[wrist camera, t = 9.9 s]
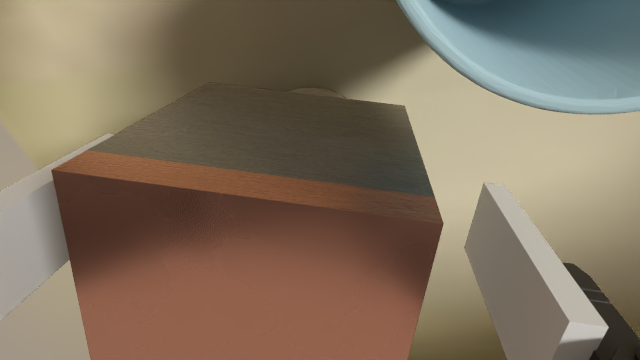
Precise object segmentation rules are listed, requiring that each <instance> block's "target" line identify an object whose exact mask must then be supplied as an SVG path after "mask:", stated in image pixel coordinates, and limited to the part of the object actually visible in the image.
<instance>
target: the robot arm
mask: <svg viewBox="0 0 640 360" xmlns="http://www.w3.org/2000/svg"><path fill="white" fill-rule="evenodd" d="M113 135H114V134H105V135H103V136H102V137H100V138H98V139H96V140H94V141H92V142H90V143H88V144H87V145H85V146H83V147H81V148H79V149H77V150H75V151H73V152H72V153H70V154H68V155H66V156H64V157H62V158H60V159H59V160H57V161H55V162H53V163H51V164H49V165H47V166H45V167H44V168H42V169H40V170H38V171H36V172H34V173H32V174H31V175H29V176H27V177H25V178H23V179H21V180H19V181H17V182H16V183H14V184H12V185H10V186H8V187H6V188H4V189H3V190H0V321H1V320H2V319H3V318H4V317H5V316H6V315H8V314H9V313H10V312H11V311H12V310H13V309H14V308H15V307H17V306H18V305H19V304H20V303H21V302H22V301H23V300H24V299H25V298H27V297H28V296H29V295H30V294H31V293H32V292H33V291H35V290H36V289H37V288H38V287H39V286H40V285H41V284H42V283H44V282H45V281H46V280H47V279H48V278H49V277H50V276H51V275H53V274H54V273H55V272H56V271H57V270H58V269H59V268H60V267H62V266H63V265H64V264H65V263H66V262H67V261H68V260H69V259H70V258H69V253H68V248H67V243H66V239H65V234H64V229H63V224H62V219H61V215H60V210H59V205H58V200H57V195H56V191H55V186H54V181H53V176H52V172H51V170H52V169H54V168H56V167H57V166H59V165H61V164H63V163H65V162H66V161H68V160H70V159H72V158H74V157H75V156H77V155H79V154H81V153H83V152H84V151H86V150H88V149H90V148H92V147H93V146H95V145H97V144H99V143H101V142H102V141H104V140H106V139H108V138H110V137H111V136H113ZM464 248H465V251H466V253H467V256H468V258H469V261H470V264H471V266H472V269H473V272H474V274H475V277H476V279H477V282H478V285H479V287H480V290H481V293H482V295H483V298H484V300H485V303H486V306H487V308H488V311H489V313H490V316H491V319H492V321H493V324H494V327H495V329H496V332H497V334H498V337H499V340H500V342H501V345H502V347H503V350H504V353H505V355H506V358H507V360H640V339H639V338H638V337H637V335H636V334H635V333H634V332H633V330H632V329H631V328H630V327H629V325H628V324H627V323H626V321H625V320H624V319H623V318H622V316H621V315H620V314H619V313H618V311H617V310H616V309H615V308H614V306H613V305H612V304H610V301H609V300H608V299H607V297H606V296H605V295H604V294H603V293H601V290H600V288H599V287H598V286H597V285H596V283H595V282H594V281H593V280H592V278H591V277H590V276H589V275H587V274H586V273H585V272H583V271H582V270H581V269H579V268H578V267H577V266H575V265H574V264H570V263H563V262H561V261H560V259H559V258H558V257H557V255H556V254H555V252H554V251H553V250H552V248H551V247H550V246H549V244H548V243H547V241H546V240H545V239H544V237H543V236H542V234H541V233H540V232H539V230H538V229H537V228H536V226H535V225H534V223H533V222H532V221H531V219H530V218H529V217H528V215H527V214H526V212H525V211H524V210H523V208H522V207H521V205H520V204H519V203H518V201H517V200H516V199H515V197H514V196H513V194H512V193H511V192H510V190H509V189H508V188H507V186H506V185H499V184H491V183H484V184H483V187H482V190H481V194H480V197H479V200H478V204H477V207H476V210H475V214H474V217H473V220H472V224H471V227H470V230H469V234H468V237H467V240H466V244H465V247H464Z"/></svg>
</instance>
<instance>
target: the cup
mask: <svg viewBox="0 0 640 360" xmlns="http://www.w3.org/2000/svg"><path fill="white" fill-rule="evenodd" d="M396 2H397V4H398V5H399V7H400V9H401V10H402V12H403V13H404V15H405V16H406V18H407V19H408V21H409V22H410V23H411V25H412V26H413V27H414V29H415V30H416V31H417V33H418V34H419V35H420V37H421V38H422V39H423V40H424V41H425V42H426V43H427V44H428V45H429V46H430V47H431V49H432V50H433V51H434V52H436V53H437V54H438V55H439V56H440V57H441V58H442V59H443V60H444V61H445V62H446V63H447V64H449V65H450V66H451V67H452V68H453V69H455V70H456V71H457V72H459V73H460V74H462V75H463V76H465V77H466V78H468V79H469V80H471V81H472V82H474V83H475V84H477V85H479V86H480V87H482V88H484V89H486V90H488V91H490V92H492V93H495V94H497V95H499V96H501V97H504V98H507V99H509V100H512V101H515V102H518V103H521V104H524V105H528V106H531V107H535V108H539V109H544V110H549V111H555V112H564V113H572V114H616V113H626V112H635V111H640V0H396Z"/></svg>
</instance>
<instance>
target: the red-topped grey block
mask: <svg viewBox="0 0 640 360" xmlns="http://www.w3.org/2000/svg"><path fill="white" fill-rule="evenodd" d="M51 172H52V176H53V181H54V186H55V191H56V195H57V200H58V205H59V210H60V215H61V219H62V224H63V229H64V234H65V239H66V243H67V248H68V253H69V258H70V262H71V267H72V272H73V277H74V282H75V286H76V291H77V295H78V301H79V305H80V310H81V315H82V320H83V325H84V329H85V334H86V339H87V344H88V348H89V353H90V358H91V360H407V359H408V355H409V352H410V348H411V344H412V340H413V337H414V333H415V329H416V325H417V322H418V318H419V314H420V310H421V306H422V303H423V299H424V295H425V291H426V288H427V284H428V280H429V276H430V273H431V269H432V265H433V261H434V257H435V254H436V250H437V246H438V242H439V239H440V235H441V231H442V227H443V221H442V218H441V215H440V212H439V209H438V206H437V203H436V200H435V196H434V193H433V190H432V187H431V184H430V181H429V178H428V175H427V172H426V169H425V166H424V163H423V160H422V157H421V154H420V151H419V148H418V145H417V142H416V139H415V136H414V133H413V130H412V127H411V124H410V121H409V118H408V115H407V112H406V109H405V106H402V105H394V104H386V103H377V102H369V101H361V100H353V99H344V98H336V97H328V96H320V95H311V94H303V93H295V92H287V91H278V90H270V89H262V88H253V87H245V86H237V85H229V84H220V83H212V82H209V83H207V84H205V85H203V86H202V87H200V88H198V89H196V90H194V91H193V92H191V93H189V94H187V95H185V96H184V97H182V98H180V99H178V100H176V101H175V102H173V103H171V104H169V105H167V106H166V107H164V108H162V109H160V110H158V111H157V112H155V113H153V114H151V115H149V116H148V117H146V118H144V119H142V120H140V121H139V122H137V123H135V124H133V125H131V126H130V127H128V128H126V129H124V130H122V131H120V132H119V133H117V134H115V135H113V136H111V137H110V138H108V139H106V140H104V141H102V142H101V143H99V144H97V145H95V146H93V147H92V148H90V149H88V150H86V151H84V152H83V153H81V154H79V155H77V156H75V157H74V158H72V159H70V160H68V161H66V162H65V163H63V164H61V165H59V166H57V167H56V168H54V169H52V170H51Z"/></svg>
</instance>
